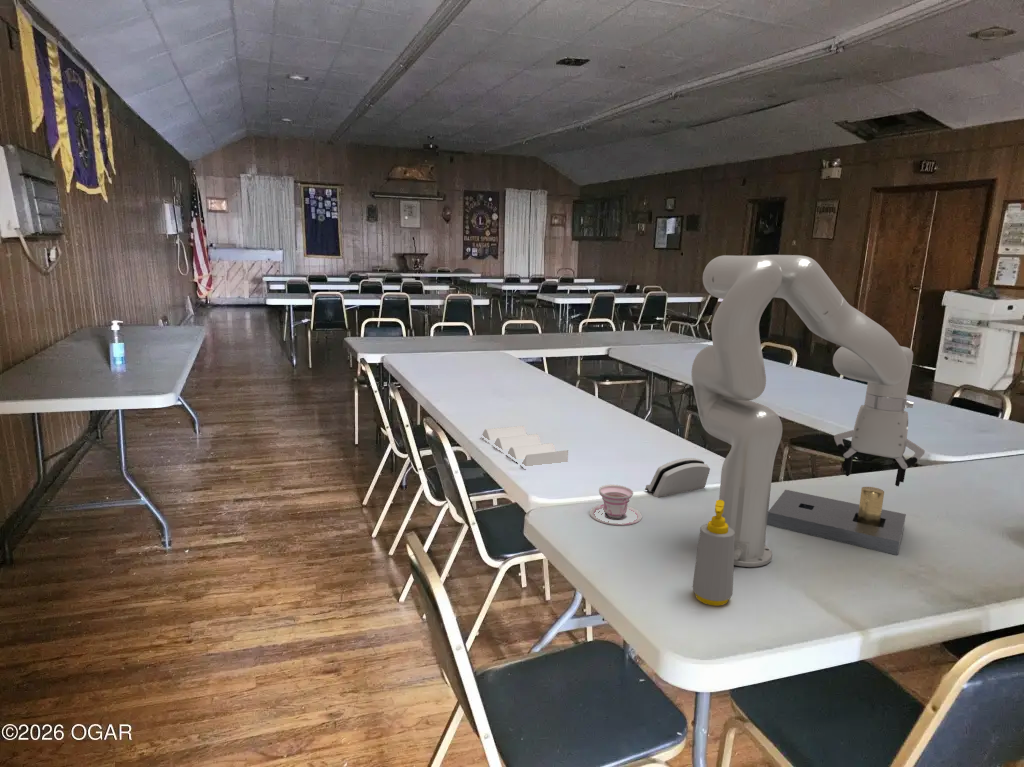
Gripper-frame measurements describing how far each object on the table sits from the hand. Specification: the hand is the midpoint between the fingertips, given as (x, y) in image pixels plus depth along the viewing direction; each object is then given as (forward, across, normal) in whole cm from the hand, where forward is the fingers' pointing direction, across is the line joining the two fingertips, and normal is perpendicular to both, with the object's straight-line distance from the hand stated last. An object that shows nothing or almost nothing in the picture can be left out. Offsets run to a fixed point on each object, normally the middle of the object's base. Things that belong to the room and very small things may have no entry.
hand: (872, 479), depth 145 cm
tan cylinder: (+12, -1, -1) cm, 13 cm away
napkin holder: (+14, +43, -1) cm, 45 cm away
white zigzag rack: (+15, +94, -5) cm, 95 cm away
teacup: (+15, +49, +24) cm, 56 cm away
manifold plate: (+13, +6, -1) cm, 14 cm away
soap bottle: (+14, +19, +48) cm, 54 cm away
